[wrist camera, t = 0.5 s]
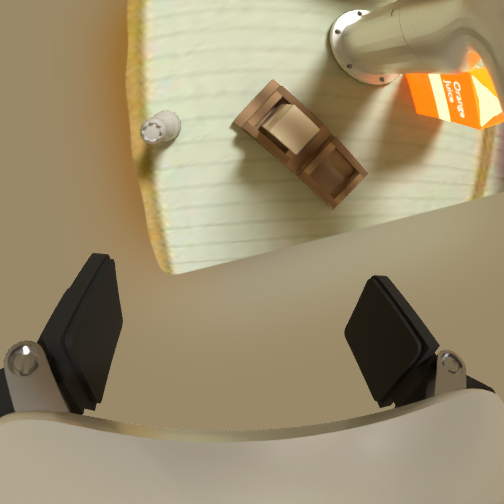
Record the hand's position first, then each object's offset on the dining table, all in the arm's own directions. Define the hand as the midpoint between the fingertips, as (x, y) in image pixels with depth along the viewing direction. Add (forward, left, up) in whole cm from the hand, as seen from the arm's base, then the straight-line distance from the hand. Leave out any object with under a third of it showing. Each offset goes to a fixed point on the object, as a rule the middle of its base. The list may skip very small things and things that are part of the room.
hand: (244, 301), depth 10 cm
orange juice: (-31, +16, -32) cm, 47 cm away
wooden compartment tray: (-7, +8, -31) cm, 33 cm away
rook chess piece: (+3, -9, -32) cm, 33 cm away
